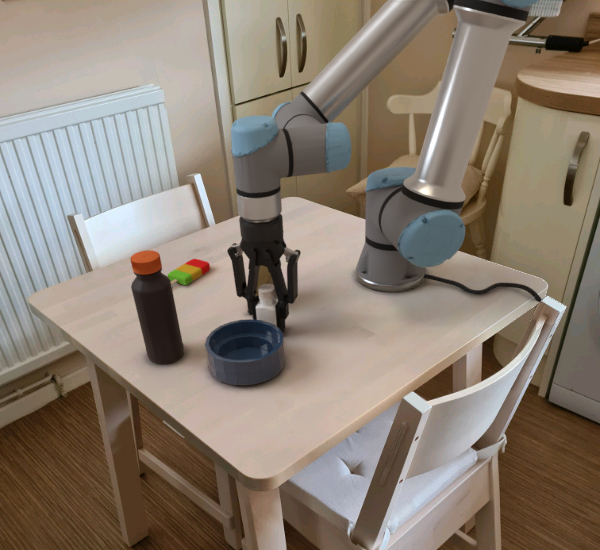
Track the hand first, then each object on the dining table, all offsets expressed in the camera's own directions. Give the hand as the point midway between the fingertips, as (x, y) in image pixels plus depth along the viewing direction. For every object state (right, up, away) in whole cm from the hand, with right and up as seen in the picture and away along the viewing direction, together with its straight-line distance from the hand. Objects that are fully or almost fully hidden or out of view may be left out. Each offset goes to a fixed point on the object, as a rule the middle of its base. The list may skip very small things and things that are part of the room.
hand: (270, 329), depth 121 cm
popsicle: (-21, +13, +19) cm, 31 cm away
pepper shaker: (0, 0, 0) cm, 0 cm away
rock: (-2, +7, +9) cm, 12 cm away
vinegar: (-19, -5, -5) cm, 21 cm away
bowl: (-4, -7, -9) cm, 12 cm away
